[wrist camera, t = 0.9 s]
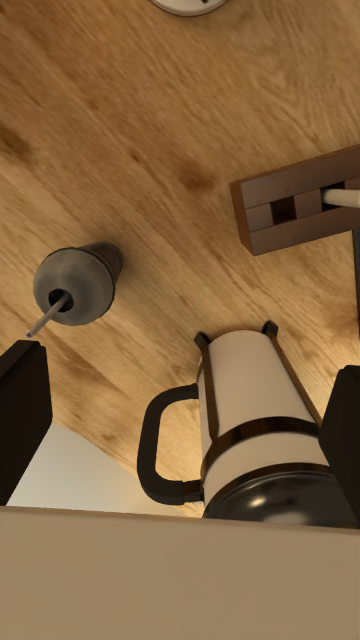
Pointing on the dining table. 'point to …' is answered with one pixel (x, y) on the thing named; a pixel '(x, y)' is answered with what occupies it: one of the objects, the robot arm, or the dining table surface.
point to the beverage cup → (76, 284)
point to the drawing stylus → (341, 197)
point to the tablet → (357, 266)
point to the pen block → (296, 202)
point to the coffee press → (249, 439)
